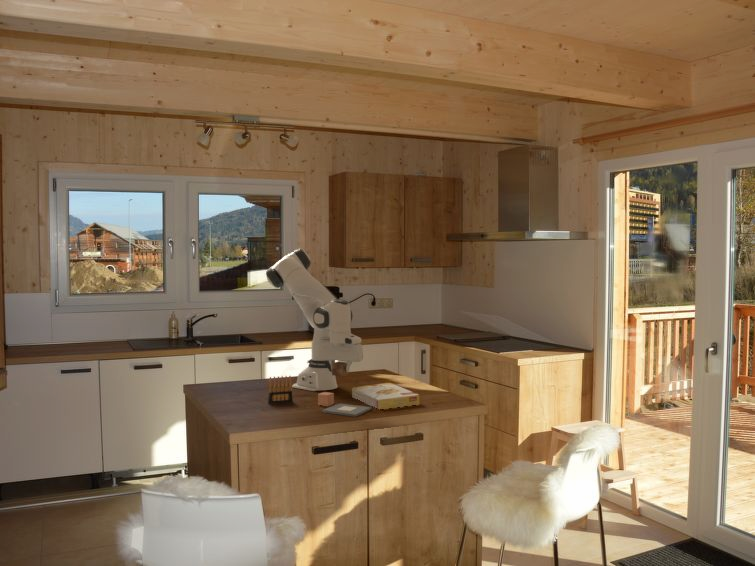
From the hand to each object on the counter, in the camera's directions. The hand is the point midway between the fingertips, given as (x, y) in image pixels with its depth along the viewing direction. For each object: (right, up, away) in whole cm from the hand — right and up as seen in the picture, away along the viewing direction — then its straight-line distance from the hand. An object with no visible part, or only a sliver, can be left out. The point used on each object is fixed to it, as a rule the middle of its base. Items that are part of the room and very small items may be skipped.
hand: (340, 370), depth 286 cm
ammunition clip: (-28, -17, +17) cm, 36 cm away
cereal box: (+19, -17, +20) cm, 32 cm away
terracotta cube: (-7, -17, +13) cm, 22 cm away
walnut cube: (0, -2, 0) cm, 2 cm away
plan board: (+3, -17, +1) cm, 17 cm away
